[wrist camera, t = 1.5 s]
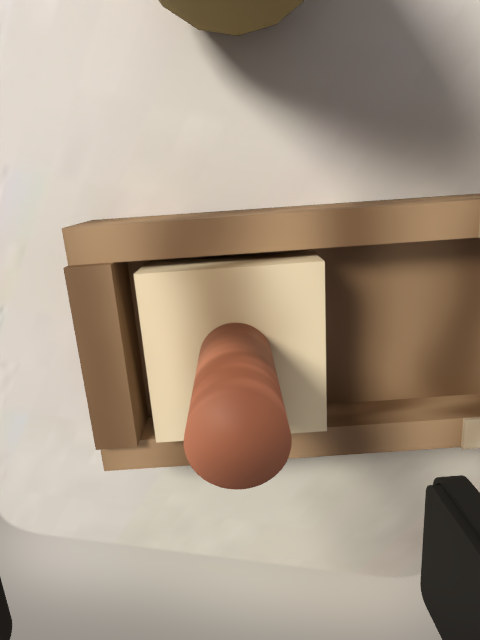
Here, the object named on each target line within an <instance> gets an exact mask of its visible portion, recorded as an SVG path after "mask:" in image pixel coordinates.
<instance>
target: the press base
mask: <svg viewBox="0 0 480 640" xmlns="http://www.w3.org/2000/svg"><path fill="white" fill-rule="evenodd" d="M62 232H63V238H64V244H65V249H66V255H67V261H68V266H67V267H65V268H64V274H65V279H66V285H67V290H68V296H69V302H70V307H71V313H72V318H73V324H74V330H75V335H76V341H77V346H78V352H79V358H80V363H81V369H82V374H83V380H84V386H85V391H86V397H87V402H88V408H89V414H90V419H91V425H92V430H93V436H94V442H95V447H96V450H100V449H101V455H102V461H103V466H104V471H111V470H126V469H141V468H156V467H170V466H185V465H190V464H189V462H188V460H187V457H186V454H185V450H184V441H174V442H159V443H156V438H155V430H154V423H153V415H152V408H151V401H150V393H149V386H148V378H147V371H146V363H145V356H144V349H143V341H142V334H141V326H140V319H139V311H138V304H137V297H136V289H135V282H134V273H135V272H137V271H138V270H139V269H140V268H141V267H142V266H143V265H144V264H145V263H146V262H149V261H164V260H178V259H193V258H208V257H222V256H237V255H251V254H266V253H280V252H295V251H310V250H312V251H313V252H314V253H316V254H317V255H318V256H319V257H320V258H322V259H323V260H324V261H325V318H326V397H327V431H321V432H306V433H292V434H291V438H292V445H291V451H290V454H289V457H288V458H303V457H318V456H333V455H347V454H362V453H377V452H392V451H406V450H421V449H436V448H451V447H462V449H471V448H480V194H467V195H452V196H438V197H423V198H409V199H394V200H380V201H365V202H350V203H336V204H321V205H307V206H292V207H278V208H263V209H249V210H234V211H219V212H205V213H190V214H176V215H161V216H147V217H132V218H118V219H103V220H91V221H87V222H84V223H80V224H76V225H73V226H69V227H65V228H62Z"/></svg>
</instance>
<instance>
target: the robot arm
mask: <svg viewBox="0 0 480 640" xmlns="http://www.w3.org/2000/svg"><path fill="white" fill-rule="evenodd" d="M421 592H422V596H423V600H424V602H425V605H426V607H427V609H428V611H429V613H430V615H431V617H432V619H433V621H434V623H435V625H436V628H437V629H438V632H439V634H440V635H441V638H442V640H480V493H479V492H478V490H477V489H476V488H475V487H474V486H473V485H472V483H471V482H470V481H469V480H468V479H467V478H466V477H465V476H450V477H438V478H435V480H434V482H433V485H429V486H427V488H426V499H425V516H424V533H423V550H422V568H421ZM11 632H12V619H11V615H10V612H9V608H8V604H7V600H6V597H5V593H4V590H3V586H2V582H1V578H0V640H10V637H11Z"/></svg>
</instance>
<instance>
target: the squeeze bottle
mask: <svg viewBox="0 0 480 640" xmlns="http://www.w3.org/2000/svg"><path fill="white" fill-rule="evenodd" d="M159 1H160V3H161V4H162V6H163V7H165V8H166V9H168V10H169V11H171V12H172V13H174V14H175V15H177V16H178V17H180V18H182V19H183V20H185V21H186V22H188V23H189V24H191V25H192V26H194V27H195V28H197V29H198V30H205V31H211V32H217V33H224V34H230V35H237V36H239V35H242V34H245V33H249V32H252V31H255V30H259V29H262V28H265V27H269V26H272V25H275V24H277V23H278V22H280V21H281V20H282V19H283V18H284V17H285V16H287V15H288V14H289V13H290V12H291V11H292V10H294V9H295V8H296V7H297V6H298V5H299V4H301V3H302V2H303V1H304V0H159Z"/></svg>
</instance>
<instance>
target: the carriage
mask: <svg viewBox="0 0 480 640" xmlns="http://www.w3.org/2000/svg"><path fill="white" fill-rule="evenodd" d="M134 282H135V289H136V297H137V304H138V311H139V319H140V326H141V334H142V341H143V349H144V356H145V363H146V371H147V378H148V386H149V393H150V401H151V408H152V415H153V423H154V430H155V438H156V443H159V442H174V441H184V450H185V454H186V457H187V460H188V462H189V464H190V465H191V467H192V468H193V470H194V471H195V472H196V473H197V474H198V475H199V476H200V477H202V478H203V479H204V480H206V481H208V482H209V483H211V484H214V485H216V486H219V487H222V488H227V489H247V488H252V487H255V486H258V485H261V484H263V483H265V482H267V481H268V480H270V479H271V478H273V477H274V476H275V475H276V474H278V472H279V471H280V470H281V469H282V468H283V466H284V465H285V463H286V461H287V460H288V457H289V454H290V451H291V445H292V438H291V434H292V433H306V432H321V431H327V397H326V318H325V261H324V260H323V259H322V258H320V257H319V256H318V255H317V254H316V253H314V252H313V251H312V250H310V251H295V252H280V253H266V254H251V255H237V256H222V257H208V258H193V259H178V260H164V261H149V262H146V263H145V264H144V265H143V266H142V267H141V268H140V269H139V270H138V271H137V272H135V273H134Z"/></svg>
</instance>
